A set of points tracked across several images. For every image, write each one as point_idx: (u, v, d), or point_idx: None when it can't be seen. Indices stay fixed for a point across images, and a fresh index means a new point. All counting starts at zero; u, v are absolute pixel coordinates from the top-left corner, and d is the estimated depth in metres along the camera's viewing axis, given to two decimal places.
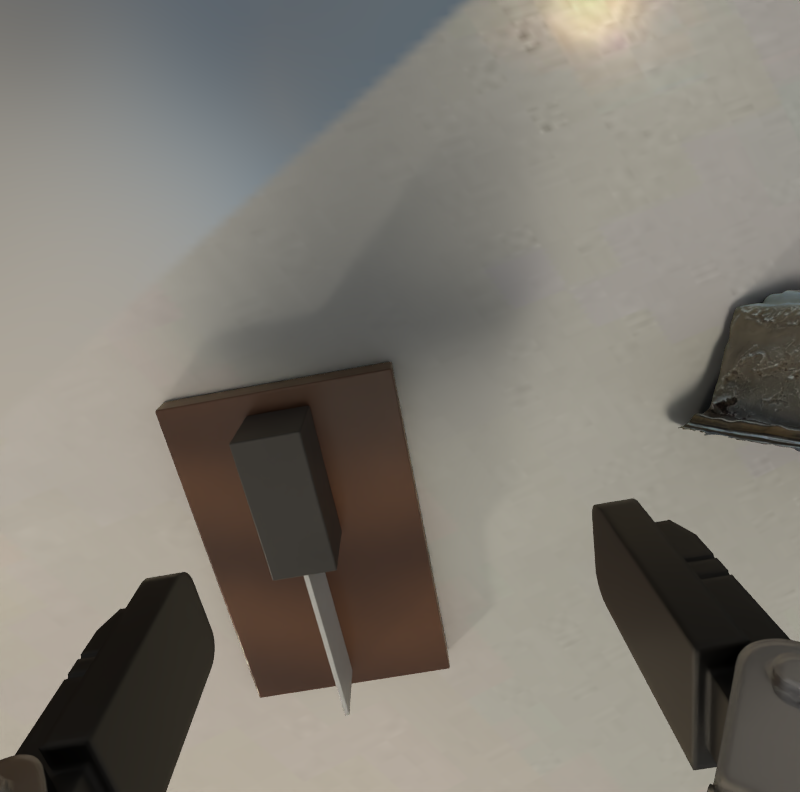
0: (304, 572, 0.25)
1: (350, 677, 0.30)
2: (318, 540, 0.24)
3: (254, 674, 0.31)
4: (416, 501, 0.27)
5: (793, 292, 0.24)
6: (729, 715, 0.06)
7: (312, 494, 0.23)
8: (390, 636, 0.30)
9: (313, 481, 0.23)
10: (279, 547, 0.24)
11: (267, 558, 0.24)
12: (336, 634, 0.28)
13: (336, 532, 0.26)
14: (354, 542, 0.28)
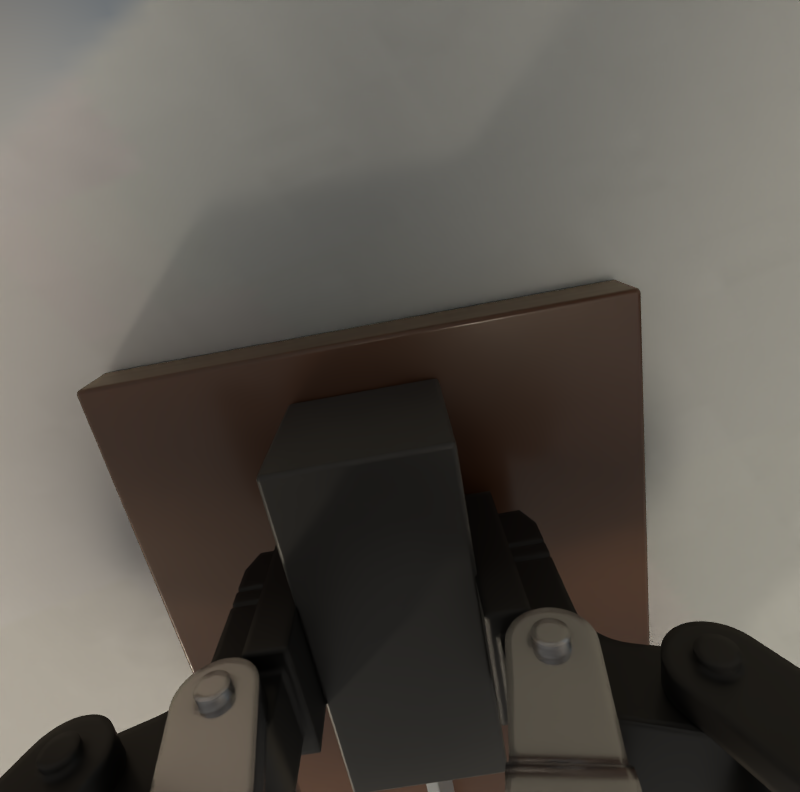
0: (431, 777, 0.10)
1: None
2: (473, 710, 0.10)
3: None
4: (646, 587, 0.13)
5: None
6: (508, 692, 0.07)
7: (471, 606, 0.09)
8: None
9: (476, 573, 0.09)
10: (376, 727, 0.10)
11: (344, 749, 0.10)
12: None
13: None
14: None
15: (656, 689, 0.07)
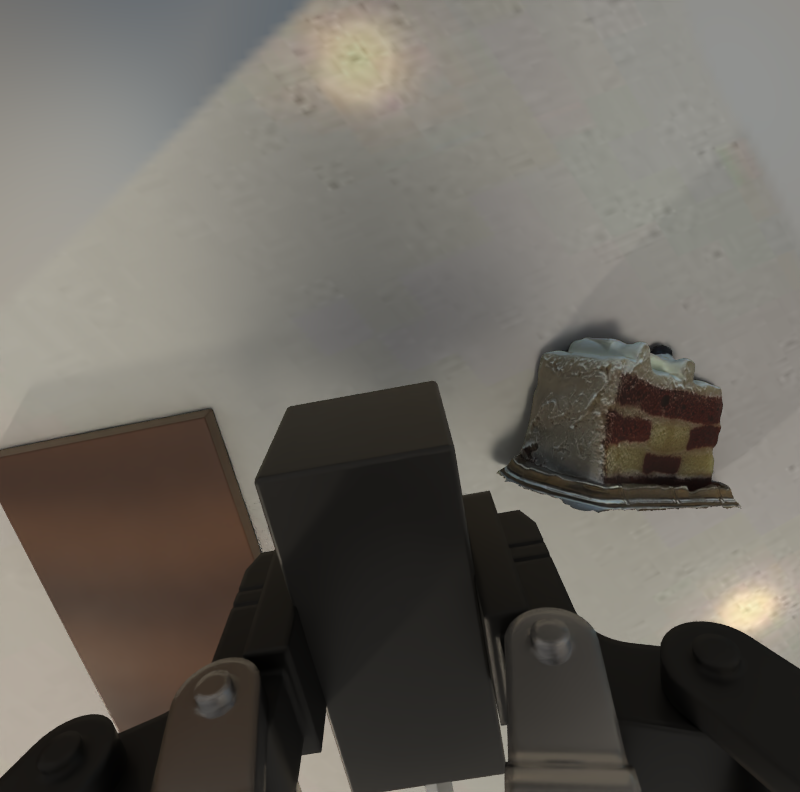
0: (429, 779, 0.10)
1: None
2: (471, 712, 0.10)
3: (111, 712, 0.31)
4: (247, 543, 0.28)
5: (588, 340, 0.24)
6: (508, 692, 0.07)
7: (470, 608, 0.09)
8: None
9: None
10: (374, 729, 0.10)
11: (343, 751, 0.10)
12: None
13: None
14: (191, 583, 0.28)
15: (655, 689, 0.07)
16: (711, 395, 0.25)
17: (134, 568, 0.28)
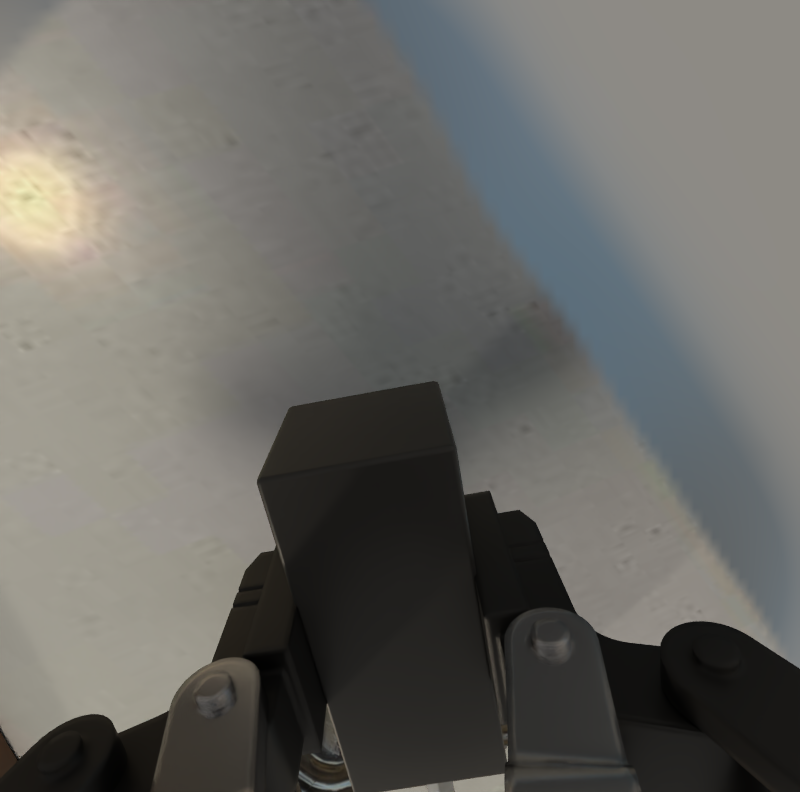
0: (431, 778, 0.10)
1: None
2: (473, 712, 0.10)
3: None
4: None
5: None
6: (508, 692, 0.07)
7: (471, 608, 0.09)
8: None
9: (475, 575, 0.09)
10: (376, 728, 0.10)
11: (345, 750, 0.10)
12: None
13: None
14: None
15: (655, 689, 0.07)
16: None
17: None
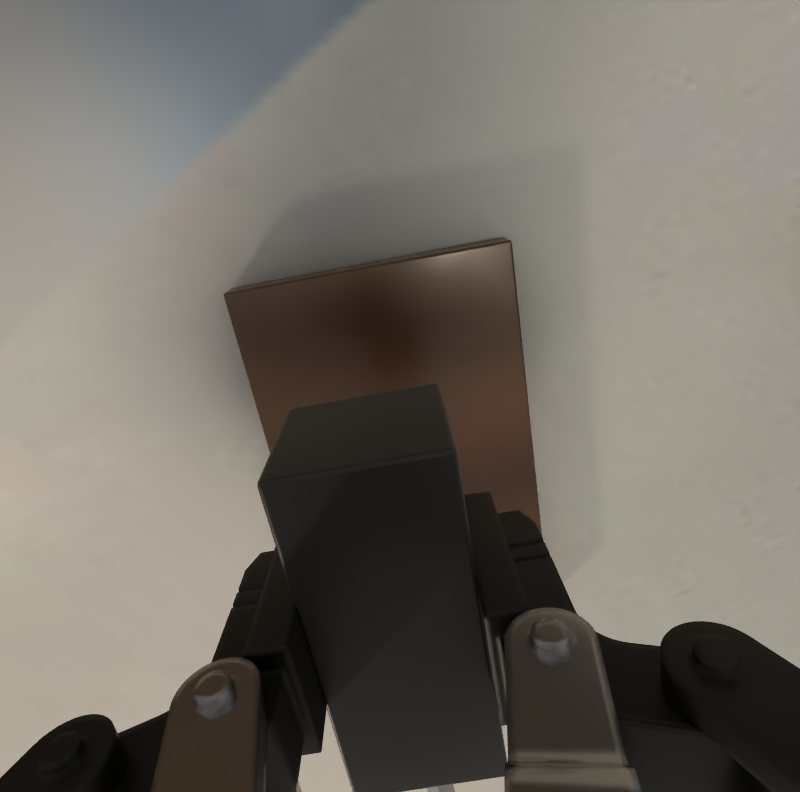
0: (431, 781, 0.10)
1: None
2: (473, 715, 0.10)
3: None
4: (528, 411, 0.23)
5: None
6: (508, 692, 0.07)
7: (472, 611, 0.09)
8: None
9: None
10: (377, 731, 0.10)
11: (345, 753, 0.10)
12: None
13: None
14: None
15: (655, 689, 0.07)
16: None
17: None
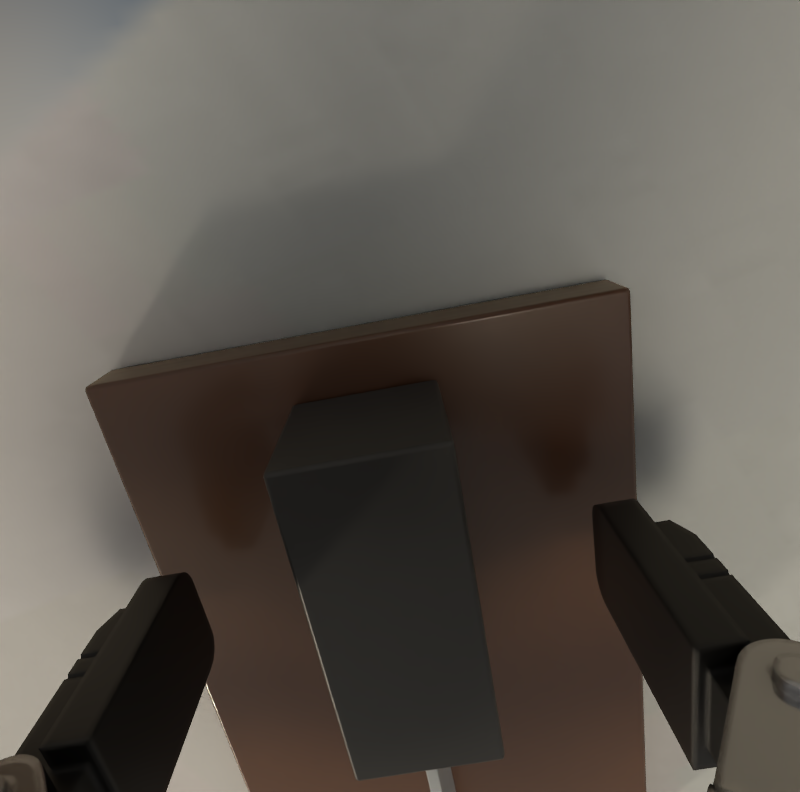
0: (430, 764, 0.11)
1: None
2: (471, 699, 0.10)
3: None
4: None
5: None
6: (729, 715, 0.06)
7: (469, 598, 0.09)
8: None
9: (473, 566, 0.09)
10: (377, 715, 0.10)
11: (347, 737, 0.10)
12: None
13: None
14: (501, 657, 0.14)
15: None
16: None
17: None
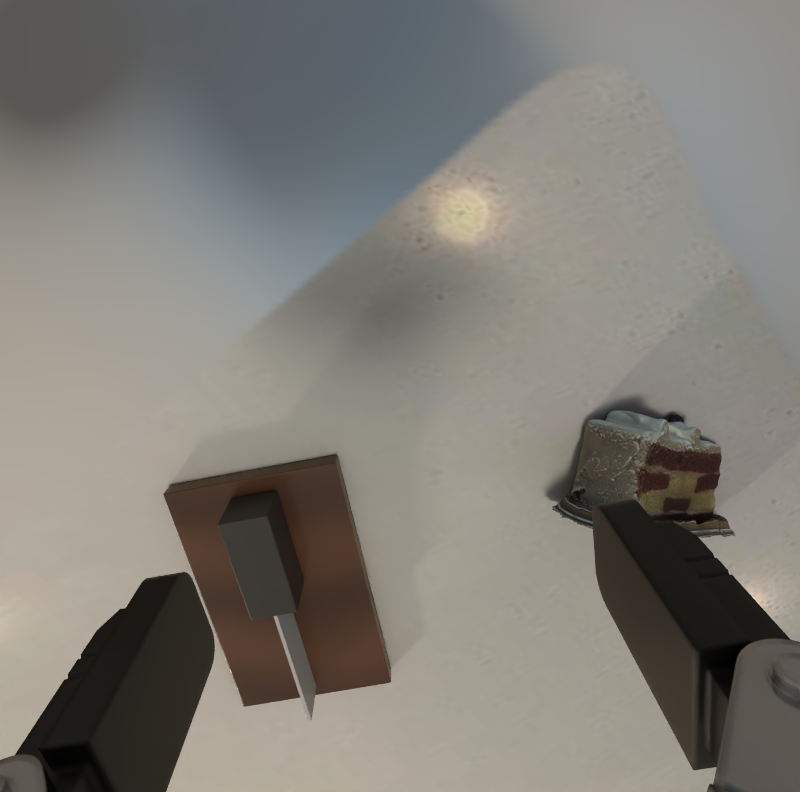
0: (273, 614, 0.34)
1: (313, 691, 0.39)
2: (283, 591, 0.33)
3: (239, 688, 0.39)
4: (358, 556, 0.36)
5: (622, 413, 0.33)
6: (729, 715, 0.06)
7: (277, 558, 0.32)
8: (343, 658, 0.39)
9: (278, 549, 0.32)
10: (255, 596, 0.33)
11: (246, 604, 0.33)
12: (301, 658, 0.37)
13: (298, 582, 0.35)
14: (313, 587, 0.37)
15: None
16: (712, 452, 0.34)
17: None
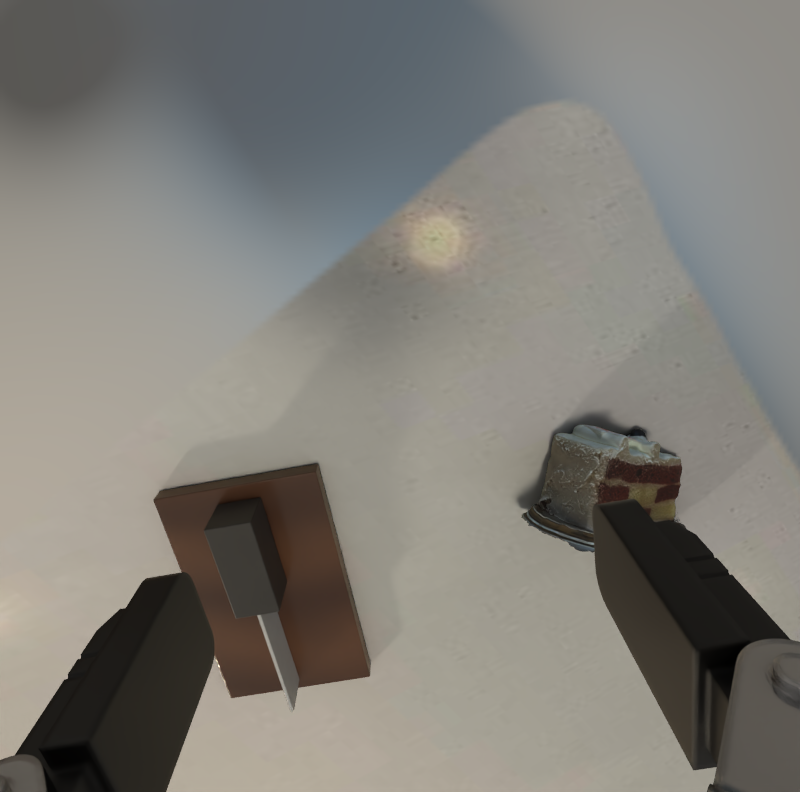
0: (257, 613, 0.36)
1: (296, 684, 0.41)
2: (266, 592, 0.35)
3: (226, 681, 0.42)
4: (338, 559, 0.38)
5: (586, 427, 0.35)
6: (729, 715, 0.06)
7: (260, 562, 0.34)
8: (324, 653, 0.41)
9: (261, 553, 0.34)
10: (239, 597, 0.35)
11: (231, 603, 0.36)
12: (284, 653, 0.40)
13: (281, 583, 0.37)
14: (295, 587, 0.39)
15: None
16: (672, 464, 0.36)
17: None
